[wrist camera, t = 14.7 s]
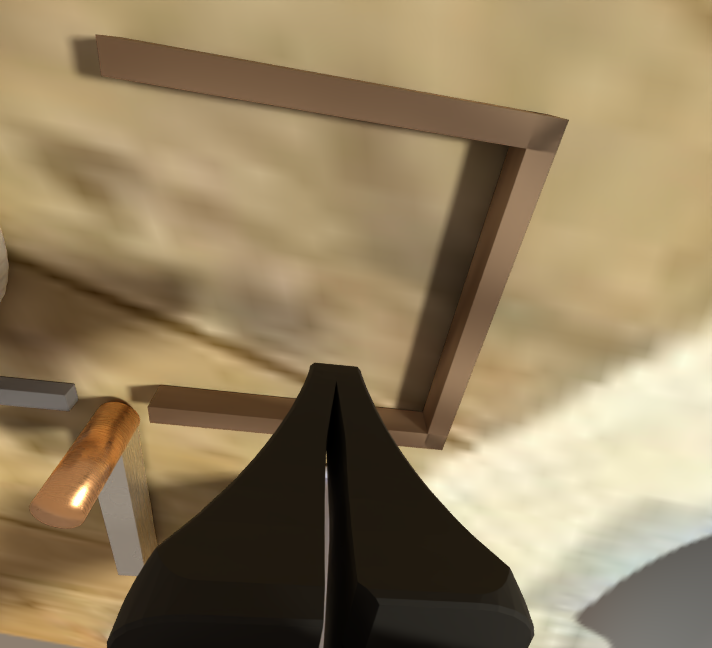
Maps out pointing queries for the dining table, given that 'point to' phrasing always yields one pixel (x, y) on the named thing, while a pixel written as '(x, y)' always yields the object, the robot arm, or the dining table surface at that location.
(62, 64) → the dining table surface
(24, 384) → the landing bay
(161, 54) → the frame
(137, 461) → the brown cylinder with bar
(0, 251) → the ramekin
